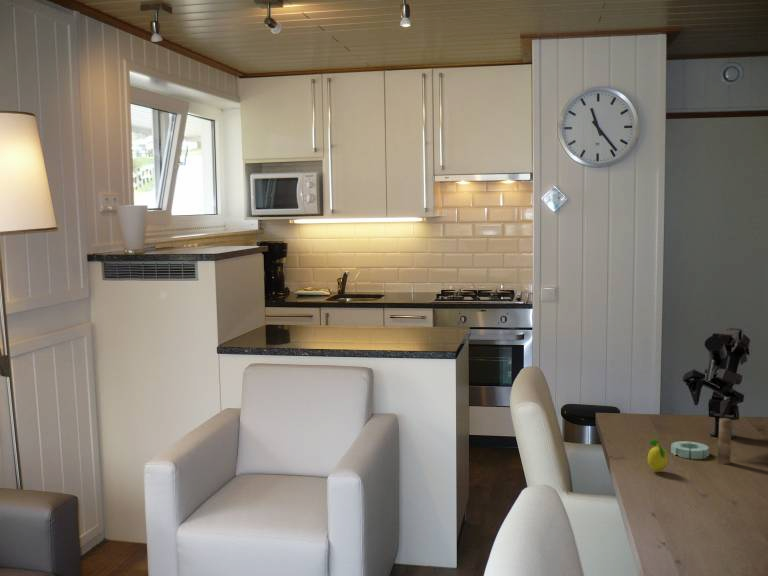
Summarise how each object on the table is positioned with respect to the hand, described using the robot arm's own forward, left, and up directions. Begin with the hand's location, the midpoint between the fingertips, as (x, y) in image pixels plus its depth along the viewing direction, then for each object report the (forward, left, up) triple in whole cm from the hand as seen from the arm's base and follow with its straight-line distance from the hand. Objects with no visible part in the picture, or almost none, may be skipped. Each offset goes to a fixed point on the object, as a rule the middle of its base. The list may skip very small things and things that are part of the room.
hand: (708, 411), depth 257 cm
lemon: (+31, -3, -13) cm, 33 cm away
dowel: (+9, +8, -13) cm, 17 cm away
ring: (+7, -3, -13) cm, 14 cm away
